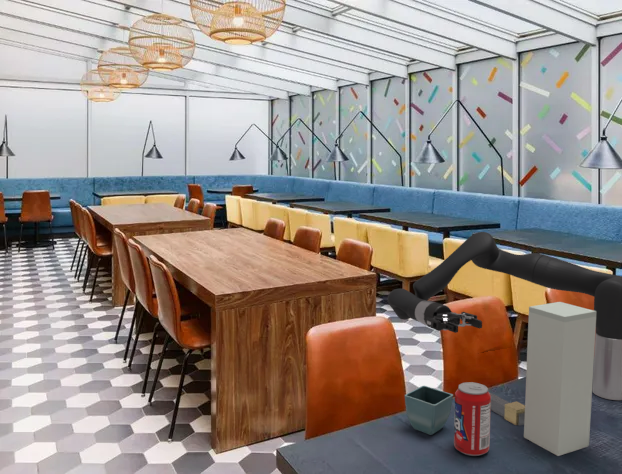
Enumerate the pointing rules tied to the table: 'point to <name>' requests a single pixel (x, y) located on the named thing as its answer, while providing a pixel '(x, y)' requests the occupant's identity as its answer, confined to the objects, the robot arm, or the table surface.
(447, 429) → the table surface
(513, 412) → the steel handle bar
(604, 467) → the table surface
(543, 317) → the sage pedestal
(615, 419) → the table surface
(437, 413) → the flower pot
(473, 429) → the soda can
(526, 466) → the table surface
